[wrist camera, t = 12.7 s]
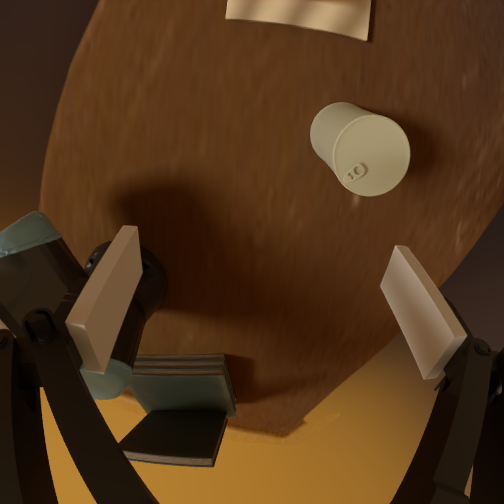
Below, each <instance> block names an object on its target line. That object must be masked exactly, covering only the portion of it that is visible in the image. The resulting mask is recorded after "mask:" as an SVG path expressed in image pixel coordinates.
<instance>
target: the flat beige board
mask: <svg viewBox="0 0 504 504" xmlns="http://www.w3.org/2000/svg"><path fill="white" fill-rule="evenodd" d="M370 6H371V0H228V3H227V11H226V20H235V21H250V22H261V23H271V24H279V25H286V26H293V27H300V28H306V29H311V30H317V31H322V32H327V33H331V34H336V35H340V36H345V37H349V38H353V39H357V40H360V41H367V36H368V26H369V17H370Z"/></svg>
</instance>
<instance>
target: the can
mask: <svg viewBox="0 0 504 504" xmlns="http://www.w3.org/2000/svg"><path fill="white" fill-rule="evenodd" d="M310 138H311V143H312V146H313V148H314V150H315V152H316V153H317V154H318V156H319V157H320V158H321V159H323V160H324V161H325V162H326V163H327V164H328V165H329V167H330V168H331V169H332V170H333V172H334V173H335V174H336V176H337V177H338V179H339V181H340V182H341V183H342V184H343V185H344V186H345V187H346V188H347V189H348V190H350V191H351V192H353V193H356V194H358V195H362V196H377V195H381V194H384V193H386V192H388V191H390V190H391V189H393V188H394V187H395V186H396V185H397V184H398V183H399V182H400V181H401V180H402V178H403V177H404V175H405V174H406V171H407V169H408V166H409V162H410V146H409V142H408V139H407V136H406V134H405V133H404V131H403V130H402V128H401V127H400V126H399V125H398V124H397V123H396V122H394V121H393V120H391V119H389V118H387V117H385V116H381V115H377V114H374V113H371V112H369V111H366V110H363V109H361V108H359V107H358V106H356V105H353V104H350V103H345V102H339V103H334V104H331V105H328V106H326V107H325V108H323V109H322V110H321V111H320V112H319V113H318V114H317V115H316V117H315V118H314V120H313V123H312V126H311V131H310Z"/></svg>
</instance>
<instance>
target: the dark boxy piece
mask: <svg viewBox="0 0 504 504" xmlns="http://www.w3.org/2000/svg"><path fill="white" fill-rule="evenodd" d="M127 386H128V388H129V389H130V390H131V392H132V393H133V395H134V396H135V398H136V399H137V400H138V402H139V403H140V405H141V406H142V407H143V409H144V410H145V411H146V413H147V415H146V416H145V417H144V418H143V420H142V421H140V422H139V423H138V424H137V425H136V426H135V427H134V428H133V429H132V430H131V431H130V432H129V433H128V434H127V435H126V436H125V437H124V438H123V439H122V440H121V441H120V442H119V443H118V444H119V446H120V447H121V449H122V451H123V452H124V454H125V455H126V457H127V459H128V460H131V461H138V462H146V463H154V464H164V465H175V466H190V467H214V465H215V461H216V458H217V455H218V451H219V448H220V445H221V442H222V438H223V435H224V432H225V428H226V425H227V422H228V419H227V418H234V417H236V398H235V395H234V391H233V387H232V384H231V380H230V376H229V372H228V368H227V364H226V360H225V356H224V353H223V354H196V355H136V359H135V363H134V367H133V372H132V375H131V376H130V378H129V381H128V384H127Z"/></svg>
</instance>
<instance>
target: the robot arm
mask: <svg viewBox="0 0 504 504" xmlns="http://www.w3.org/2000/svg"><path fill="white" fill-rule="evenodd" d="M62 237H63V236H62V235H61V233H58V231H57V230H56V229H55V227H54V226H53V224H52V223H51V222H50V220H49V219H48V217H47V216H46V215H45V214H44V213H42V212H38V211H36V212H32V213H29V214H28V215H26V216H24V217H23V218H21V219H20V220H18V221H16V222H15V223H13V224H12V225H10V226H9V227H8V228H6V229H5V230H3V231H2V232H0V504H58V500H57V496H56V493H55V488H54V484H53V480H52V475H51V471H50V466H49V460H48V455H47V449H46V443H45V436H44V428H43V420H42V411H41V399H40V387H43V388H44V391H45V394H46V397H47V400H48V403H49V405H50V408H51V411H52V413H53V416H54V418H55V421H56V423H57V425H58V428H59V430H60V433H61V435H62V437H63V440H64V442H65V444H66V446H67V448H68V451H69V453H70V455H71V457H72V459H73V461H74V463H75V465H76V467H77V469H78V471H79V473H80V474H81V476H82V478H83V480H84V482H85V484H86V485H87V487H88V489H89V491H90V492H91V494H92V496H93V497H94V499H95V501H96V503H97V504H159V502H158V501H157V500H156V498H155V497H154V496H153V495H152V493H151V492H150V490H149V489H148V488H147V486H146V485H145V484H144V482H143V481H142V479H141V478H140V476H139V475H138V474H137V472H136V471H135V469H134V468H133V466H132V465H131V463H130V462H129V460H128V459H127V457H126V455H125V454H124V452H123V451H122V449H121V447H120V446H119V444H118V443H117V441H116V440H115V438H114V436H113V434H112V433H111V431H110V429H109V427H108V425H107V424H106V422H105V420H104V418H103V416H102V415H101V413H100V411H99V409H98V407H97V405H96V403H95V401H94V399H98V400H108V399H113V398H116V397H118V396H120V395H121V394H122V393H123V392H124V391H125V389H126V386H127V384H128V381H129V378H130V376H131V375H132V372H133V367H134V363H135V359H136V355H137V351H138V348H139V344H140V340H141V337H142V333H143V329H144V326H145V323H146V321H147V320H148V319H149V318H150V317H151V316H152V315H153V314H154V312H155V311H156V310H157V309H158V308H159V307H160V306H161V304H162V302H163V300H164V297H165V293H166V290H167V278H166V274H165V271H164V269H163V267H162V266H161V264H160V263H159V261H158V260H157V259H156V258H155V257H154V256H153V255H152V254H151V253H150V252H148V251H147V250H145V249H144V248H142V247H140V245H139V236H138V226H126V225H123V226H122V228H121V229H120V231H119V232H118V234H117V235H116V237H115V238H114V240H113V241H110V242H106V243H103V244H101V245H100V246H98V247H97V248H96V249H95V250H94V251H93V252H92V254H91V255H90V257H89V258H88V260H87V262H86V265H85V268H84V269H83V268H82V266H81V265H80V264H79V262H78V261H77V259H76V258H75V257H74V255H73V254H72V252H71V251H70V249H69V248H68V246H67V245H66V243H65V241H64V240H63V238H62ZM380 287H381V289H382V291H383V293H384V295H385V297H386V299H387V301H388V303H389V305H390V307H391V309H392V311H393V313H394V315H395V317H396V319H397V321H398V324H399V326H400V328H401V330H402V332H403V334H404V336H405V338H406V341H407V343H408V345H409V347H410V349H411V351H412V354H413V356H414V358H415V361H416V363H417V365H418V367H419V370H420V372H421V374H422V377H423V379H424V380H426V379H432V378H437V376H438V375H439V374H440V373H441V371H442V370H443V369H444V372H445V374H446V375H445V376H444V378H443V379H442V380H441V382H440V383H439V384H438V385H437V386H436V388H435V389H434V390H435V391H436V390H437V389H438V388H439V387H440V389H439V392H438V395H437V398H436V401H435V404H434V407H433V410H432V413H431V416H430V418H429V421H428V423H427V426H426V429H425V431H424V434H423V436H422V439H421V441H420V444H419V446H418V449H417V451H416V453H415V455H414V458H413V460H412V462H411V464H410V466H409V468H408V470H407V473H406V475H405V477H404V479H403V481H402V483H401V484H400V487H399V488H398V490H397V492H396V494H395V496H394V498H393V500H392V501H391V502H390V504H504V347H503V349H502V350H501V351H500V352H497V351H492V350H491V348H490V346H489V345H488V344H487V343H486V342H485V341H483V340H481V339H478V338H474V337H473V336H472V334H471V332H470V330H469V329H468V327H467V325H466V324H465V322H464V321H463V319H461V316H460V314H459V313H457V310H456V308H455V307H454V305H453V304H452V303H451V302H450V301H449V300H448V299H447V298H446V297H443V296H442V295H441V293H440V292H439V290H438V289H437V287H436V286H435V284H434V283H433V281H432V280H431V278H430V277H429V276H428V274H427V273H426V271H425V270H424V269H423V267H422V266H421V264H420V263H419V262H418V260H417V259H416V258H415V256H414V255H413V254H412V252H411V251H410V250H409V248H408V247H407V246H399V245H395V248H394V251H393V253H392V256H391V259H390V262H389V264H388V267H387V269H386V272H385V275H384V277H383V280H382V282H381V285H380ZM501 386H502V392H501V394H498V389H500V387H501ZM473 462H474V463H473ZM472 465H473V475H472V484H471V492H470V499H469V497H468V496H466V495H465V494H464V491H465V487H466V484H467V481H468V478H469V475H470V472H471V468H472Z"/></svg>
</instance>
